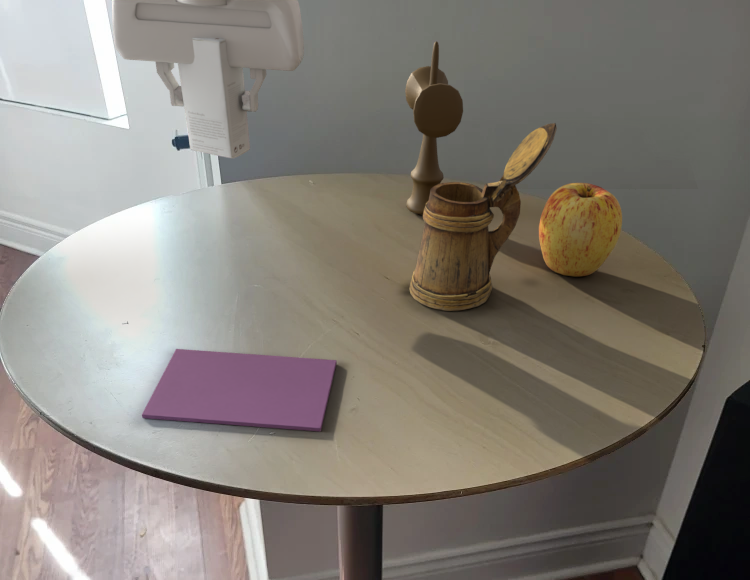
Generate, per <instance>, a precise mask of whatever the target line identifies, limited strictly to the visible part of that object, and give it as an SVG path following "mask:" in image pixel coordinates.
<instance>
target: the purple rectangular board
mask: <svg viewBox="0 0 750 580" xmlns="http://www.w3.org/2000/svg"><path fill="white" fill-rule="evenodd" d="M337 363H338V361H337V359H326V358H314V357H313V358H311V357H297V356H284V355H282V356H281V355H271V354H269V355H268V354H257V353H256V354H253V353H243V352H242V353H240V352H229V351H228V352H226V351H214V350H213V351H212V350H199V349H187V348H186V349H185V348H175V350H174V352H173V354H172V356H171V358H170V360H169V362H168V363H167V365H166V367H165V369H164V371H163V372H162V375H161V377H160V379H159V380H158V383H157V384H156V387H155V389H154V390H153V392H152V393H151V396H150V398H149V400H148V401H147V404H146V406H145V408H144V409H143V411H142V413H141V418H142V419H149V420H165V421H176V422H188V423H201V424H214V425H215V424H216V425H227V426H228V425H229V426H244V427H254V428H255V427H256V428H267V429H281V430H282V429H283V430H295V431H307V432H309V431H310V432H322V429H323V424H324V419H325V415H326V411H327V406H328V404H329V403H328V402H329V398H330V394H331V389H332V386H333V382H334V376H335V372H336V367H337Z"/></svg>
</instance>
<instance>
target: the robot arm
mask: <svg viewBox="0 0 750 580" xmlns="http://www.w3.org/2000/svg"><path fill="white" fill-rule="evenodd" d="M110 1H111V17H112V18H111V19H112V20H111V21H112V32H113V41H114V48H115V50H116V52H117V53H118V54H119V55H120V56H121V58H122V59H124V60H127V61H139V62H140V61H142V62H153V63H154V62H155V68H156V73H157V75H158V77H159V78H160V79H161V81H162V82H163V84H164V86H165V87H166V89H167V90H168V91H169V98H170V104H171V106H172V107H181V108H182V107H183V108H184V103H183V95H182V89H181V85H180V83H178V81H177V79H176V77H175V76H174V74H173V71H172V70H174V69H175V64H178V63H183V64H191V63H193V61H194V58H195V56H194V48H193V39H192V38H219V39H225V41H226V51H227V60H228V65H229V66H230V67H240V68H243V69H249V77H250V80H254V83H253V85H252V87H251V89H250V90H245V91H244V93H243V94H242V102H243V105H242V109H243V111H247V112H249V113H257V111H258V110H259V94H258V93H259V91H260V89H261V87H262V85H263V83H264V81H265V79H266V77H267V70H268V71H269V70H270V71H285V72H294V71H296V69H297V68H298V67H299V66H300V65H301V63H302V62H303V59H304V57H305V42H304V41H305V40H304V30H303V29H304V28H303V20H302V16H301V14H302V13H301V8H300V4H299V0H110Z"/></svg>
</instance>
